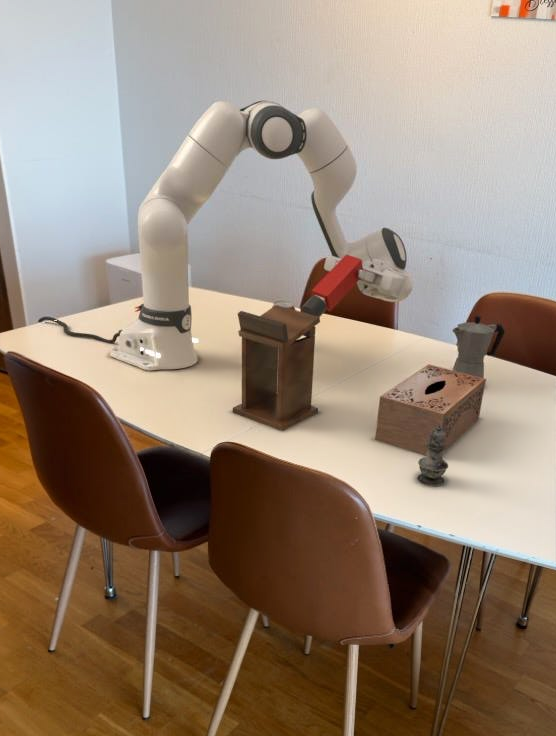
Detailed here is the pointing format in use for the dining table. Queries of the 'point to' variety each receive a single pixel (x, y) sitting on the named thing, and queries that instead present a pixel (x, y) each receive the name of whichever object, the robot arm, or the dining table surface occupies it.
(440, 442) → the dark stone figurine
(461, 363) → the coffeepot
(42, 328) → the dining table surface
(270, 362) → the wooden lectern stand
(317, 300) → the tall red pillar
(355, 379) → the dining table surface
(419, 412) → the tissue box cover
